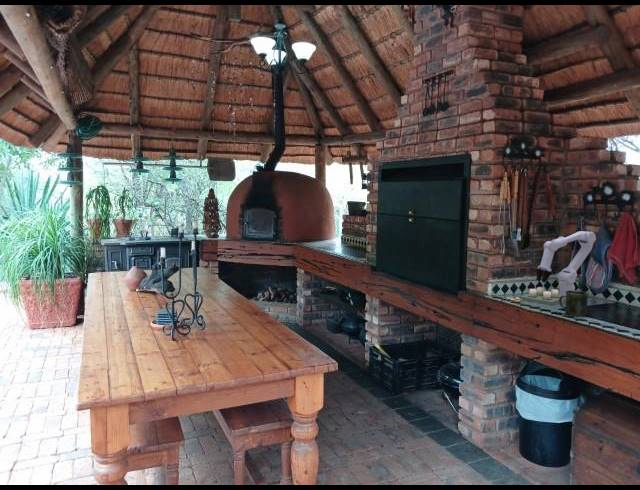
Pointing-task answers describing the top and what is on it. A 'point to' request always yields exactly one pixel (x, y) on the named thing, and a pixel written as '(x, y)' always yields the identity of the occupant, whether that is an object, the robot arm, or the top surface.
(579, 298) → the mug
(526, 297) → the grey-green board with holes
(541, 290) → the beige cylinder
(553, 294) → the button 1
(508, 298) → the tile
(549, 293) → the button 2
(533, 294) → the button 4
